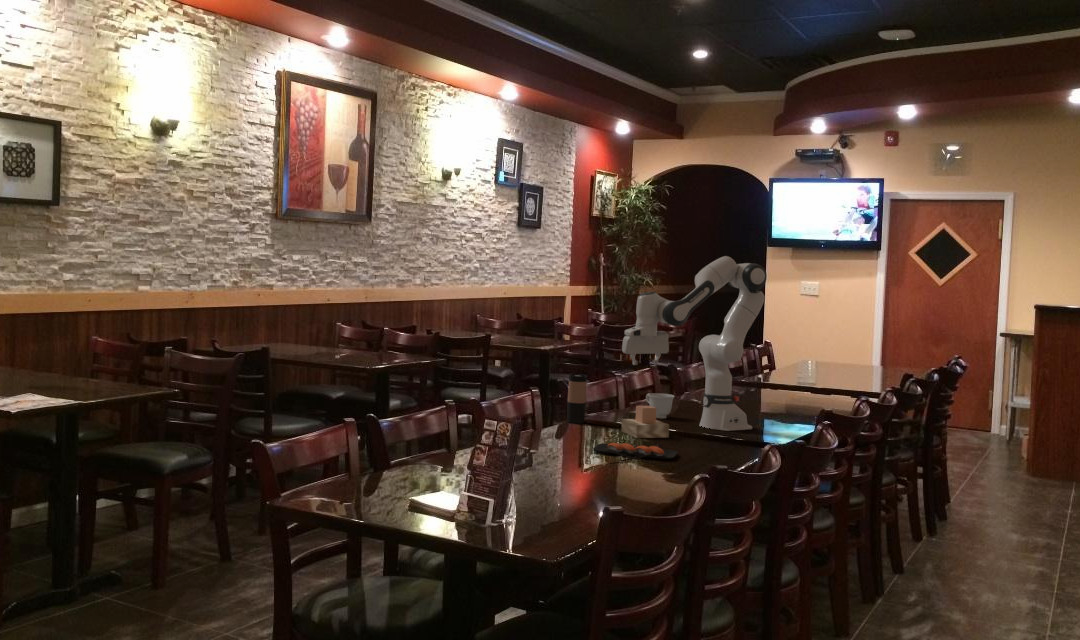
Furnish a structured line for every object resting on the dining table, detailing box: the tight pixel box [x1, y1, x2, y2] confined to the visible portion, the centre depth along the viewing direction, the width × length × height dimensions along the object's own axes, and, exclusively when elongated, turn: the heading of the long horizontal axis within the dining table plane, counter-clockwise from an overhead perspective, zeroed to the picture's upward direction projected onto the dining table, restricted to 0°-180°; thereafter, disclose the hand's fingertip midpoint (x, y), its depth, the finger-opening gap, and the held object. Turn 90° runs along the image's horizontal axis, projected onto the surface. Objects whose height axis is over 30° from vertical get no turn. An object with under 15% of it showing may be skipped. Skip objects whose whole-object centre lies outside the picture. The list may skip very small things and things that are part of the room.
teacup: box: [645, 392, 675, 419], centre depth 424 cm, size 12×15×10 cm
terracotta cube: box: [634, 405, 657, 423], centre depth 377 cm, size 6×6×6 cm
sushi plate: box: [592, 442, 678, 463], centre depth 329 cm, size 29×30×4 cm
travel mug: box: [566, 373, 588, 425], centre depth 398 cm, size 8×8×20 cm
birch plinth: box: [620, 418, 670, 439], centre depth 378 cm, size 14×14×5 cm
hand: (645, 364), depth 392 cm, fingers open, 8 cm apart
